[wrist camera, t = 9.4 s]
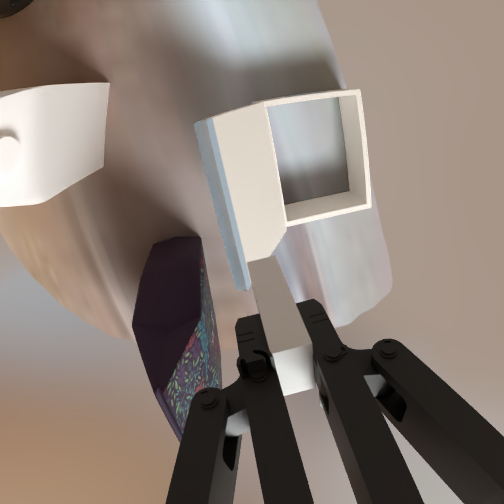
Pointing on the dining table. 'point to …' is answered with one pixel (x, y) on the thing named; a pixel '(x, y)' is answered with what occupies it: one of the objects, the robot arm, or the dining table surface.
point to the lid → (242, 185)
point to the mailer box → (355, 158)
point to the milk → (50, 139)
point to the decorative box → (177, 327)
